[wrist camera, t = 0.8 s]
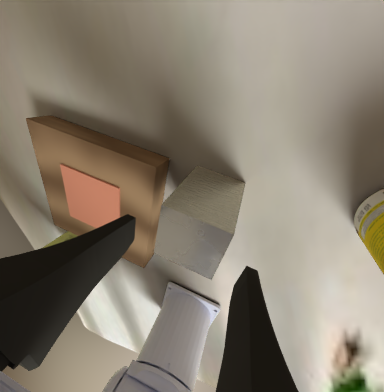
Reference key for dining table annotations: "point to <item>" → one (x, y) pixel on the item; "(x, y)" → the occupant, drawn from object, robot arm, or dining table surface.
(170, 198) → the steel column
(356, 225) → the supplement bottle
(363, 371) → the dining table surface
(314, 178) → the dining table surface
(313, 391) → the dining table surface
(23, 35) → the dining table surface
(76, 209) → the board
